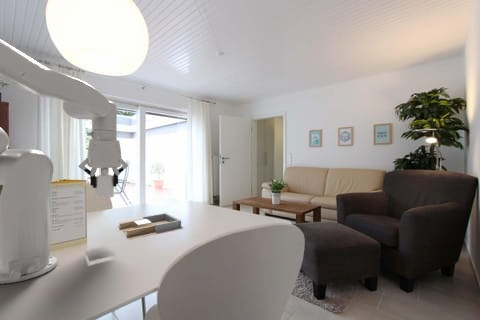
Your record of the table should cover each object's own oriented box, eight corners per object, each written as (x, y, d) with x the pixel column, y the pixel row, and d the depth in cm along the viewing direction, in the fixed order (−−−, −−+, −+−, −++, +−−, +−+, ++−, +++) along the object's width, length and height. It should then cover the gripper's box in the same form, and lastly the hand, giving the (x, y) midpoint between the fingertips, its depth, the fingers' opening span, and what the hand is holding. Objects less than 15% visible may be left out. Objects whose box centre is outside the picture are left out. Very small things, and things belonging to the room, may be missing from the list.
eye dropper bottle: (96, 197, 82) (96, 164, 82) (114, 196, 84) (114, 164, 84) (94, 199, 78) (94, 164, 78) (112, 198, 80) (112, 164, 80)
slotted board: (184, 230, 91) (183, 222, 91) (130, 242, 78) (130, 233, 78) (165, 219, 107) (164, 213, 107) (117, 228, 94) (117, 220, 94)
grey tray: (181, 226, 93) (181, 220, 92) (156, 232, 86) (155, 225, 86) (166, 218, 105) (166, 213, 105) (143, 222, 98) (142, 216, 98)
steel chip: (151, 228, 90) (151, 222, 90) (138, 231, 87) (138, 224, 87) (146, 225, 94) (146, 219, 94) (133, 227, 91) (133, 221, 91)
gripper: (75, 133, 72) (75, 190, 73) (133, 137, 83) (133, 186, 84) (74, 135, 78) (74, 187, 78) (128, 138, 89) (128, 184, 89)
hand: (104, 186), depth 81 cm, fingers closed on eye dropper bottle, 5 cm apart
